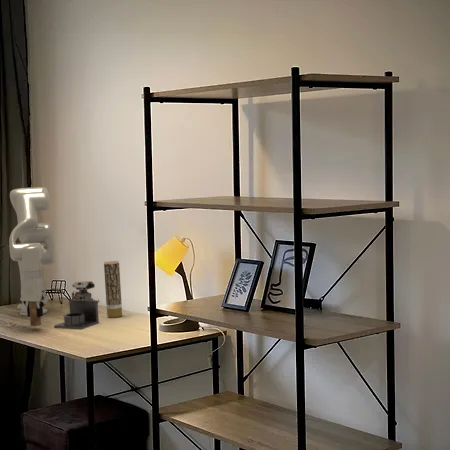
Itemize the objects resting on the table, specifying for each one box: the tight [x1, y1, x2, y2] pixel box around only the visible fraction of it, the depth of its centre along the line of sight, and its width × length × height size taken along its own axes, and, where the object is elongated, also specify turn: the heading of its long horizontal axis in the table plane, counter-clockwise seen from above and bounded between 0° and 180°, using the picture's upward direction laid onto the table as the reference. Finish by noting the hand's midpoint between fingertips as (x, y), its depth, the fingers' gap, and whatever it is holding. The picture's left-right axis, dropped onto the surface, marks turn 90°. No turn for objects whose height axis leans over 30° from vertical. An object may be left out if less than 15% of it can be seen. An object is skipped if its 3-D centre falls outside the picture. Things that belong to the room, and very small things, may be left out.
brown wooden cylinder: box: [29, 302, 42, 327], centre depth 352 cm, size 4×4×14 cm
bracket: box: [53, 298, 99, 330], centre depth 357 cm, size 13×14×10 cm
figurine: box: [71, 280, 100, 304], centre depth 385 cm, size 9×12×15 cm
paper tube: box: [103, 260, 123, 319], centre depth 372 cm, size 7×7×25 cm
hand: (35, 316), depth 352 cm, fingers closed on brown wooden cylinder, 4 cm apart
